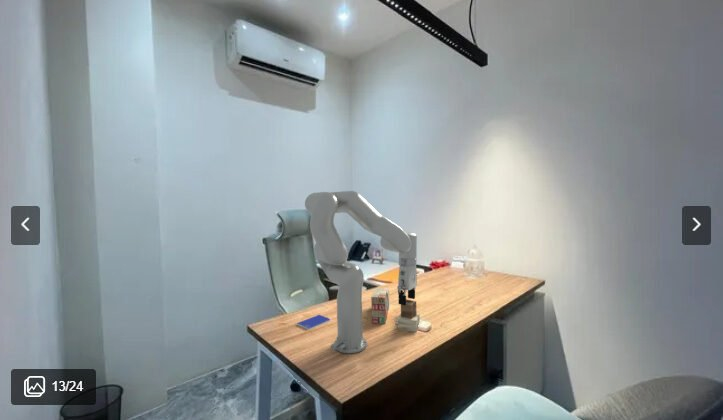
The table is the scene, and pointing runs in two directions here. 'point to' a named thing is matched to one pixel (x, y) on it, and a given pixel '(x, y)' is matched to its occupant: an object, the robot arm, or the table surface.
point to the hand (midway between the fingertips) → (406, 301)
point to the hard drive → (313, 322)
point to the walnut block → (409, 309)
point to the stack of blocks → (380, 305)
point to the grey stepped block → (409, 323)
